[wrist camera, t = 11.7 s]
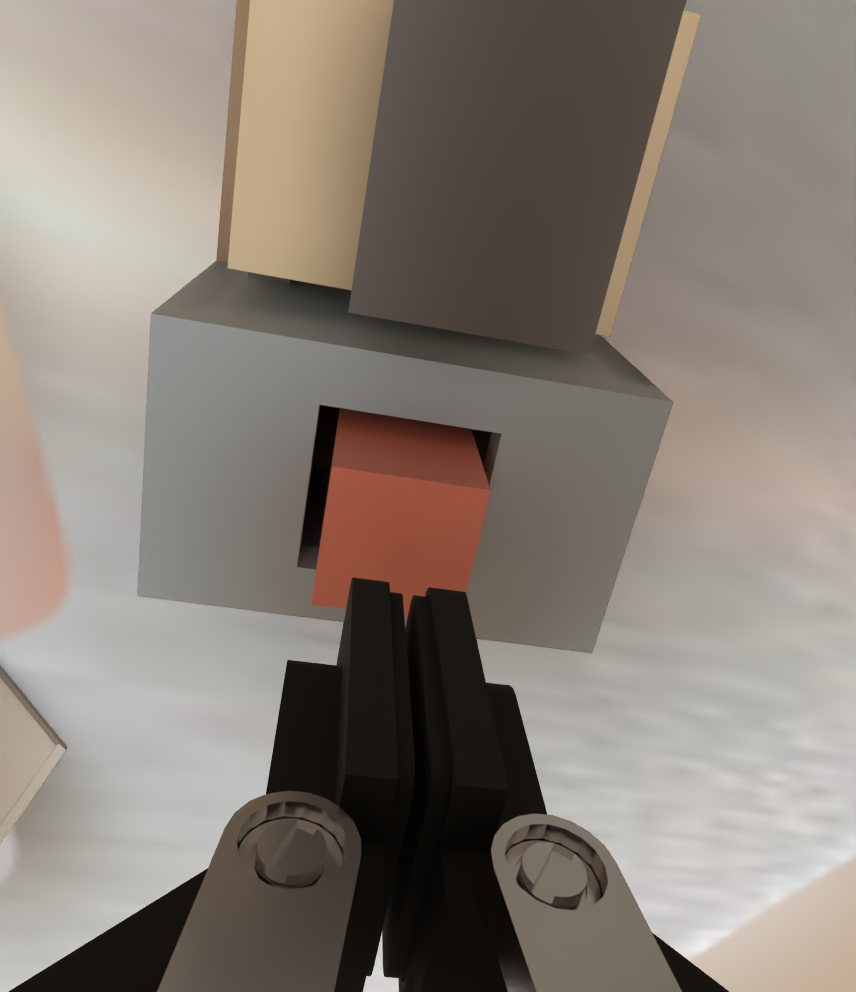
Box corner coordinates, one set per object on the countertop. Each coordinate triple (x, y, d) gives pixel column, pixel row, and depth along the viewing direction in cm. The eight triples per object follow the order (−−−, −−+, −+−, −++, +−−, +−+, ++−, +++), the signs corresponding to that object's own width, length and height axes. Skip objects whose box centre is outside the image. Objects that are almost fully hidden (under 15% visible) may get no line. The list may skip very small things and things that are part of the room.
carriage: (649, 32, 17) (950, -76, 8) (578, 308, 20) (749, 459, 11) (277, -54, 16) (152, -287, 7) (249, 248, 19) (128, 358, 10)
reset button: (467, 416, 18) (491, 490, 14) (443, 528, 19) (459, 623, 15) (341, 396, 17) (331, 466, 14) (324, 511, 19) (311, 604, 15)
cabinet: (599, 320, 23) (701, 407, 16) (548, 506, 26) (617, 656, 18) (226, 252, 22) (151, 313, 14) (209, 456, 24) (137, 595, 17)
